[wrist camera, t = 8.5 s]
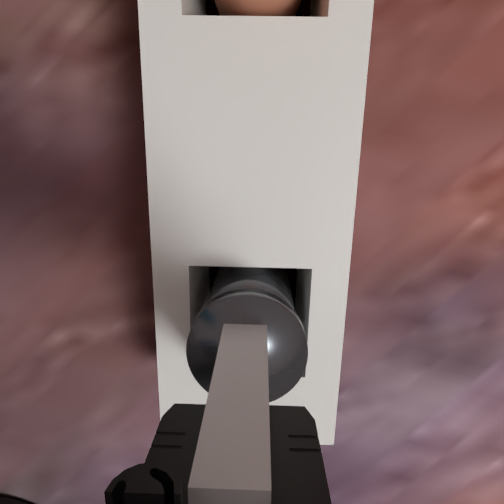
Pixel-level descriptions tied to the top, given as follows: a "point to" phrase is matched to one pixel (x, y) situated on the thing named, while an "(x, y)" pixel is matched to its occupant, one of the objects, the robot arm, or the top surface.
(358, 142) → the block
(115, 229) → the top surface
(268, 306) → the plunger graphite
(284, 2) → the tan rounded peg
